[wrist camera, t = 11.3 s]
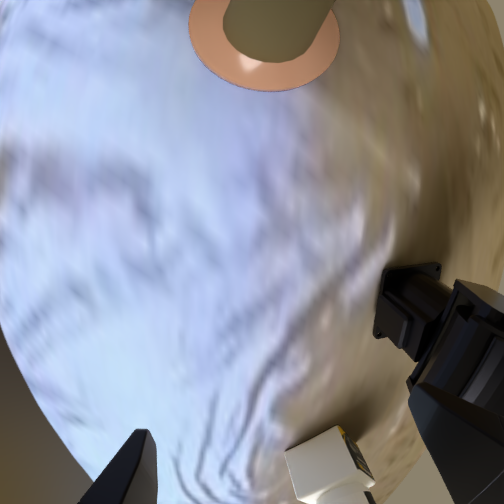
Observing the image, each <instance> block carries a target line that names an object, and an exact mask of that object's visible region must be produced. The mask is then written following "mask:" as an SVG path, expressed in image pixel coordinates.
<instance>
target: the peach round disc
mask: <svg viewBox="0 0 504 504" xmlns="http://www.w3.org/2000/svg"><path fill="white" fill-rule="evenodd" d="M229 3H230V0H196V1H195V3H194V5H193V7H192V9H191V12H190V16H189V34H190V39H191V43H192V46H193V48H194V51H195V53H196V54H197V56H198V57H199V59H200V60H201V61H202V63H203V64H204V65H205V66H206V67H207V68H208V69H209V70H210V71H211V72H213V73H214V74H215V75H217V76H218V77H220V78H221V79H223V80H225V81H227V82H229V83H231V84H233V85H236V86H238V87H242V88H245V89H249V90H255V91H263V92H279V91H286V90H291V89H294V88H298V87H300V86H303V85H305V84H307V83H309V82H311V81H312V80H314V79H315V78H317V77H318V76H319V75H321V74H322V73H323V72H324V71H325V70H326V69H327V68H328V67H329V66H330V65H331V63H332V62H333V60H334V58H335V56H336V54H337V51H338V47H339V41H340V34H339V27H338V23H337V20H336V17H335V15H334V13H333V11H332V9H330V11H329V13H328V15H327V17H326V19H325V20H324V22H323V24H322V26H321V28H320V30H319V31H318V33H317V35H316V37H315V39H314V41H313V43H312V45H311V46H310V47H309V48H308V50H307V51H306V52H305V53H304V54H303V55H301V56H299V57H297V58H296V59H294V60H291V61H286V62H282V63H266V62H261V61H258V60H255V59H251V58H249V57H247V56H245V55H244V54H242V53H240V52H239V51H237V50H236V49H235V48H234V47H233V46H232V45H231V44H230V42H229V41H228V40H227V38H226V35H225V33H224V31H223V16H224V14H225V11H226V9H227V7H228V5H229Z"/></svg>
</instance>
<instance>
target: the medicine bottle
mask: <svg viewBox="0 0 504 504" xmlns="http://www.w3.org/2000/svg"><path fill="white" fill-rule="evenodd" d="M284 455H285V458H286V462H287V465H288V469H289V473H290V476H291V480H292V483H293V487H294V490H295V494H296V497H297V499H298V500H300V501H303V502H305V503H308V504H376V503H375V501H374V499H373V496H372V494H371V492H370V490H369V487H371V486H373V485H374V484H375V480H374V478H373V476H372V474H371V472H370V470H369V468H368V466H367V464H366V462H365V460H364V458H363V456H362V454H361V452H360V450H359V448H358V446H357V444H356V443H355V442H354V441H353V440H352V439H351V438H350V437H349V436H348V435H347V434H346V433H345V432H344V431H343V430H342V429H341V428H340V426H338V425H336V426H334V427H332V428H330V429H329V430H327V431H325V432H323V433H321V434H319V435H318V436H316V437H314V438H312V439H310V440H308V441H306V442H304V443H302V444H300V445H298V446H296V447H294V448H292V449H289V450H287V451H285V453H284Z"/></svg>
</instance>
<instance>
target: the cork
mask: <svg viewBox="0 0 504 504" xmlns="http://www.w3.org/2000/svg"><path fill="white" fill-rule="evenodd" d="M335 1H336V0H230V3H229V5H228V7H227V9H226V11H225V14H224V16H223V31H224V33H225V35H226V38H227V40H228V41H229V42H230V44H231V45H232V46H233V47H234V48H235V49H236V50H237V51H239V52H240V53H242V54H244V55H245V56H247V57H249V58H251V59H255V60H258V61H261V62H266V63H282V62H286V61H291V60H294V59H296V58H297V57H299V56H301V55H303V54H304V53H305V52H306V51H307V50H308V48H309V47H310V46H311V45H312V43H313V41H314V39H315V37H316V35H317V33H318V31H319V30H320V28H321V26H322V24H323V22H324V20H325V19H326V17H327V15H328V13H329V11H330V9H331V8H332V6H333V4H334V2H335Z"/></svg>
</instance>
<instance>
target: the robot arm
mask: <svg viewBox="0 0 504 504" xmlns="http://www.w3.org/2000/svg"><path fill="white" fill-rule="evenodd" d="M436 267H437V268H436ZM441 267H442V266H441V264H440V263H438V262H431V263H424V264H417V265H410V266H402V267H395V268H388V269H385V270H384V272H383V274H382V280H381V287H380V294H379V297H378V303H377V309H376V315H375V321H374V322H375V324H374V330H373V336H374V337H375V338H376V339H381V338H385V337H388V338H389V339H390V340H391V341H392V342H393V343H394V344H395V346H396V347H397V348H398V349H401V348H402V349H403V350H404V351H405V352H406V353H407V354H408V355H409V356H410V358H411V359H412V360H413V361H414V362H418V361H419V362H418V364H417V365H416V367H415V369H414V371H413V372H412V374H411V375H410V376H409V377H408V379H407V380H406V384H407V386H408V389H409V392H410V397H409V399H408V405H409V408H410V410H411V413H412V415H413V418H414V420H415V423H416V425H417V428H418V430H419V433H420V435H421V437H422V439H423V441H424V443H425V445H426V447H427V449H428V451H429V452H430V455H431V457H432V459H433V460H434V463H435V464H436V466H437V468H438V470H439V472H440V474H441V476H442V478H443V481H444V483H445V484H446V487H447V489H448V491H449V493H450V495H451V497H452V499H453V501H454V503H455V504H504V296H503V295H502V294H500V293H498V292H496V291H494V290H493V289H491V288H489V287H487V286H484V285H480V284H476V283H472V282H468V281H464V280H460V279H456V280H455V283H454V285H453V286H454V289H453V290H452V289H451V288H449V287H448V286H446V285H445V284H443V283H442V282H440V281H439V279H440V273H441ZM389 273H390V275H389V276H388V277H387V275H388V274H389ZM379 332H380V333H379ZM378 333H379V334H378ZM157 493H158V480H157V450H156V444H155V441H154V439H153V437H152V435H151V433H150V431H149V430H148V429H135V430H134V432H133V433H132V434H131V435H130V437H129V438H128V439H127V441H126V442H125V443H124V444H123V446H122V447H121V448H120V450H119V451H118V452H117V454H116V455H115V456H114V457H113V459H112V460H111V461H110V462H109V464H108V465H107V466H106V468H105V469H104V470H103V471H102V473H101V474H100V475H99V477H98V478H97V479H96V480H95V482H94V483H93V484H92V486H91V487H90V488H89V489H88V491H87V492H86V493H85V495H84V496H83V497H82V498H81V499H80V502H78V503H77V504H157Z"/></svg>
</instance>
